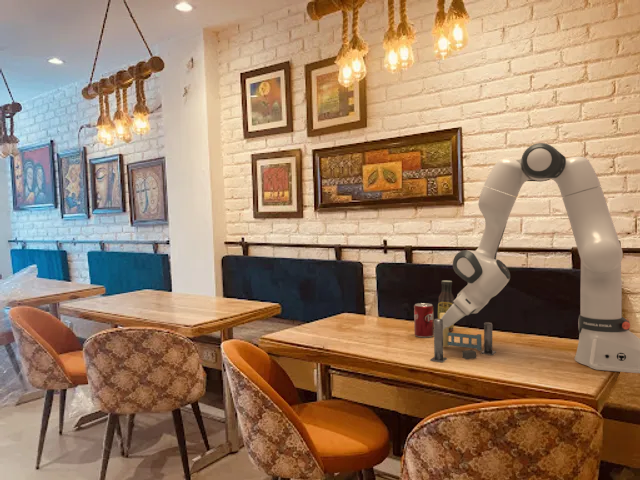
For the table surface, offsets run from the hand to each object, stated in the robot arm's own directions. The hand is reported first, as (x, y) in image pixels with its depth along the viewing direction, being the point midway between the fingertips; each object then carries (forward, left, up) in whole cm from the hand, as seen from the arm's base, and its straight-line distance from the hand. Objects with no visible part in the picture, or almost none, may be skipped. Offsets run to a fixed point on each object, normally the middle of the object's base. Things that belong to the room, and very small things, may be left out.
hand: (443, 326), depth 178 cm
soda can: (+13, -13, -8) cm, 20 cm away
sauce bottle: (+9, -25, -8) cm, 28 cm away
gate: (-6, -1, -7) cm, 9 cm away
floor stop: (-12, +7, -7) cm, 16 cm away
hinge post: (-15, -1, -7) cm, 17 cm away
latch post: (-4, +15, -7) cm, 17 cm away
